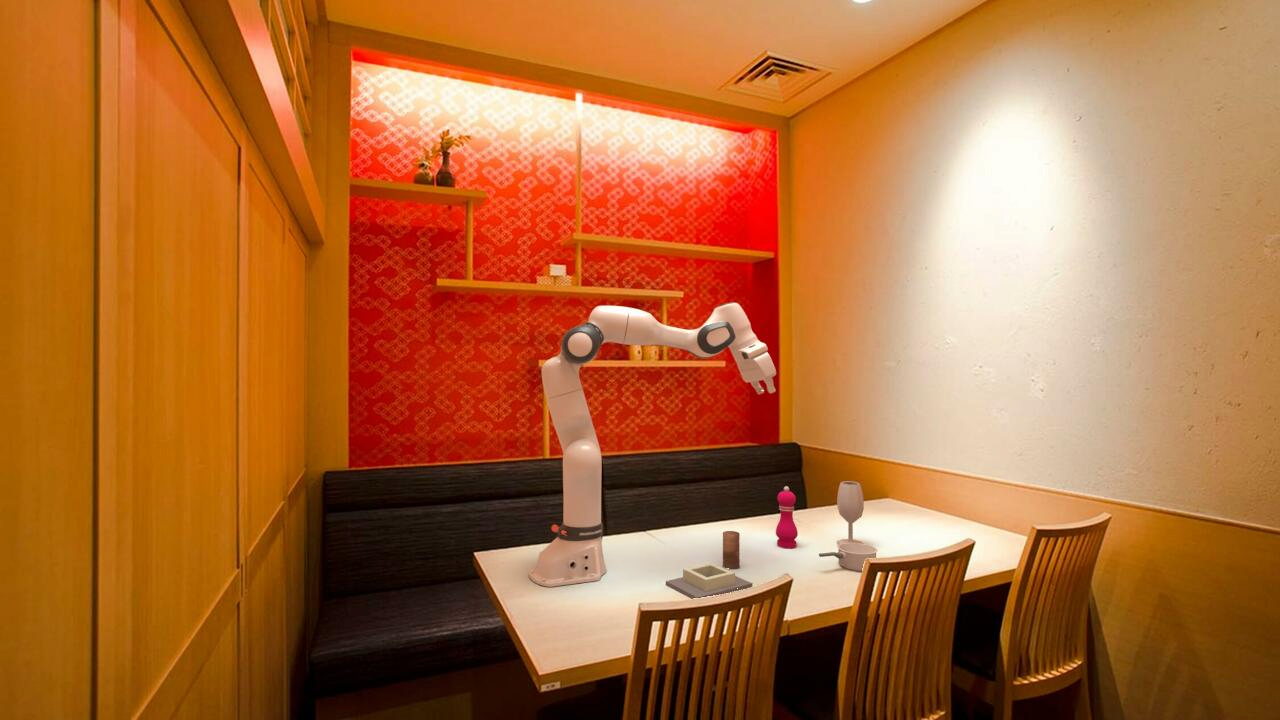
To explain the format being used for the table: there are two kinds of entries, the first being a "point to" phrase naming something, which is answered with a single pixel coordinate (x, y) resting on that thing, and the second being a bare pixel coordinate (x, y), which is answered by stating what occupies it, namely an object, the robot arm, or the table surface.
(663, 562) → the table surface
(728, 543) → the walnut peg
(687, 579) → the socket block
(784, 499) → the pepper mill
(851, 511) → the wineglass
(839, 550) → the saucepan
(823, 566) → the table surface
